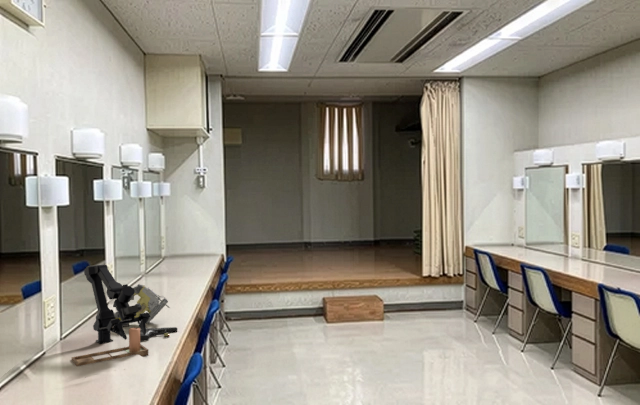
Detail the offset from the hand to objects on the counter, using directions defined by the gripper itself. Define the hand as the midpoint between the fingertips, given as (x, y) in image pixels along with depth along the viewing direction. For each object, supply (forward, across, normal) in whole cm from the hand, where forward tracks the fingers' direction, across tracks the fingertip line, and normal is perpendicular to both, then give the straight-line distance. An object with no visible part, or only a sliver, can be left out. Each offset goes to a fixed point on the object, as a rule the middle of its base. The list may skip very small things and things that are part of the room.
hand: (135, 336), depth 228 cm
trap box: (+4, -10, +8) cm, 13 cm away
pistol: (-8, +22, +21) cm, 32 cm away
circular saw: (-30, +30, +42) cm, 60 cm away
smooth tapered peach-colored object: (+4, 0, +6) cm, 7 cm away
